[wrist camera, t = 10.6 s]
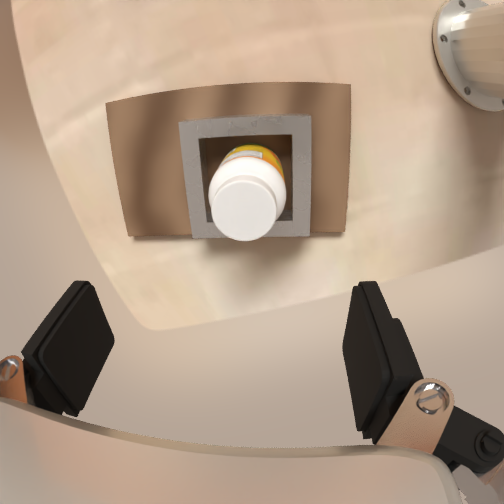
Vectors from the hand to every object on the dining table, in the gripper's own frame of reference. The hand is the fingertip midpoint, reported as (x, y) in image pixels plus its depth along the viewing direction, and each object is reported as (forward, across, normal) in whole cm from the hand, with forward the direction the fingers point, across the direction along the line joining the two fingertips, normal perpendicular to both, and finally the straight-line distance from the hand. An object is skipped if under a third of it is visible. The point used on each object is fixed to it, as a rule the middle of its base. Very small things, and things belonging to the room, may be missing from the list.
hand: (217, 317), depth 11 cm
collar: (+19, 0, 0) cm, 19 cm away
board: (+20, +2, -1) cm, 20 cm away
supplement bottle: (+19, 0, 0) cm, 19 cm away
